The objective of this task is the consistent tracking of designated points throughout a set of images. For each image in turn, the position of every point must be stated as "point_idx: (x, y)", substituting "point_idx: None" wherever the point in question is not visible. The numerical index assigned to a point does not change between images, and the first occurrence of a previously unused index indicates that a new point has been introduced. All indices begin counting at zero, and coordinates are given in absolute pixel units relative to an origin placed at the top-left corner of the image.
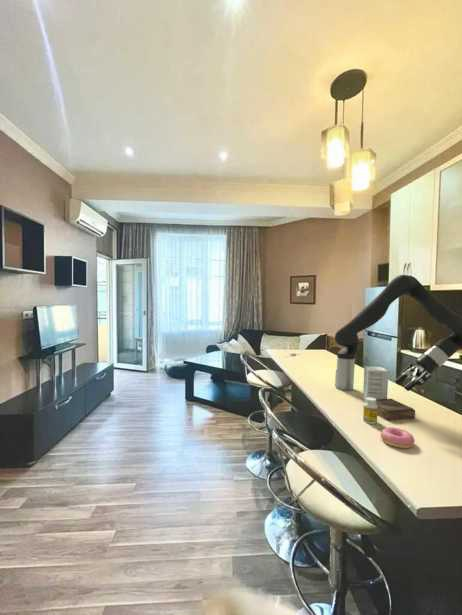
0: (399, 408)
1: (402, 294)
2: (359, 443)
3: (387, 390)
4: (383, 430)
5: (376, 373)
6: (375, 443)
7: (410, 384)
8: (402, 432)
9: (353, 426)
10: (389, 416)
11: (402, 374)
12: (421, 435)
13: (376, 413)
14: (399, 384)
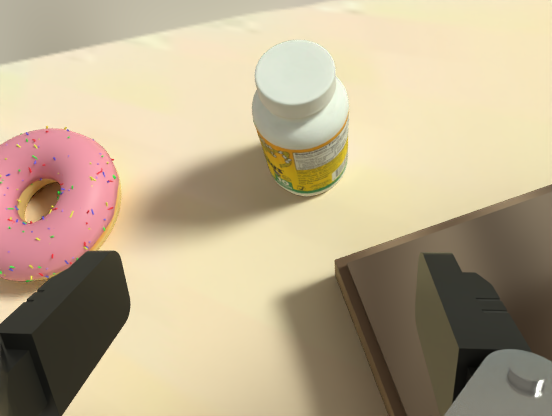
0: (429, 390)
1: None
2: (63, 57)
3: None
4: (60, 133)
5: None
6: (56, 115)
7: (20, 310)
8: (33, 224)
9: (229, 68)
10: (339, 280)
11: (482, 365)
12: (123, 397)
13: (269, 156)
14: (417, 326)
